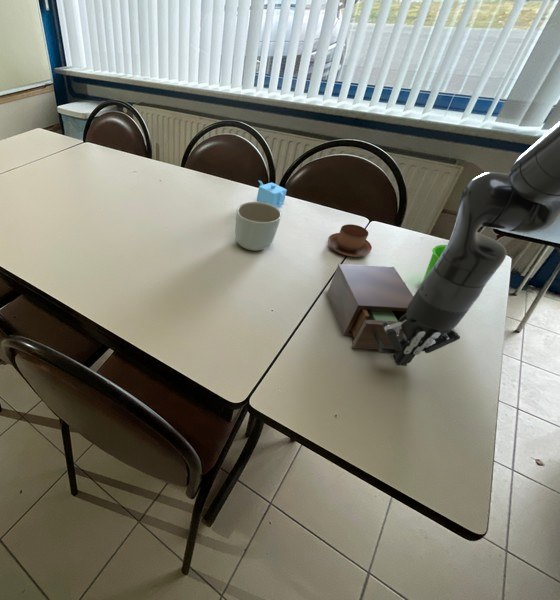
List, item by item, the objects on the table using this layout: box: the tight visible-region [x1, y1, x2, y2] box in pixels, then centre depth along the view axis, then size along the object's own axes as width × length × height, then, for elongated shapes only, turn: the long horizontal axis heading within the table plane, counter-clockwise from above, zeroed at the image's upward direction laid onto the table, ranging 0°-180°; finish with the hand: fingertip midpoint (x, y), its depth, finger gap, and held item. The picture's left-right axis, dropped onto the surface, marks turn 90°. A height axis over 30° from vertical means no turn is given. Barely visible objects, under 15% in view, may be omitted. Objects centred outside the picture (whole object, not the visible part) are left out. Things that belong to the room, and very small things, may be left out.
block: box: [367, 309, 398, 322], centre depth 79 cm, size 5×5×5 cm
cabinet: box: [326, 263, 414, 337], centre depth 84 cm, size 15×13×9 cm
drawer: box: [351, 309, 419, 356], centre depth 79 cm, size 18×12×7 cm, turn 175°
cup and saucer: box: [327, 223, 373, 258], centre depth 107 cm, size 12×12×6 cm
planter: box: [234, 201, 282, 252], centre depth 107 cm, size 12×12×11 cm
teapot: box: [255, 180, 288, 208], centre depth 128 cm, size 12×6×8 cm, turn 33°
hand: (399, 362), depth 72 cm, fingers closed
